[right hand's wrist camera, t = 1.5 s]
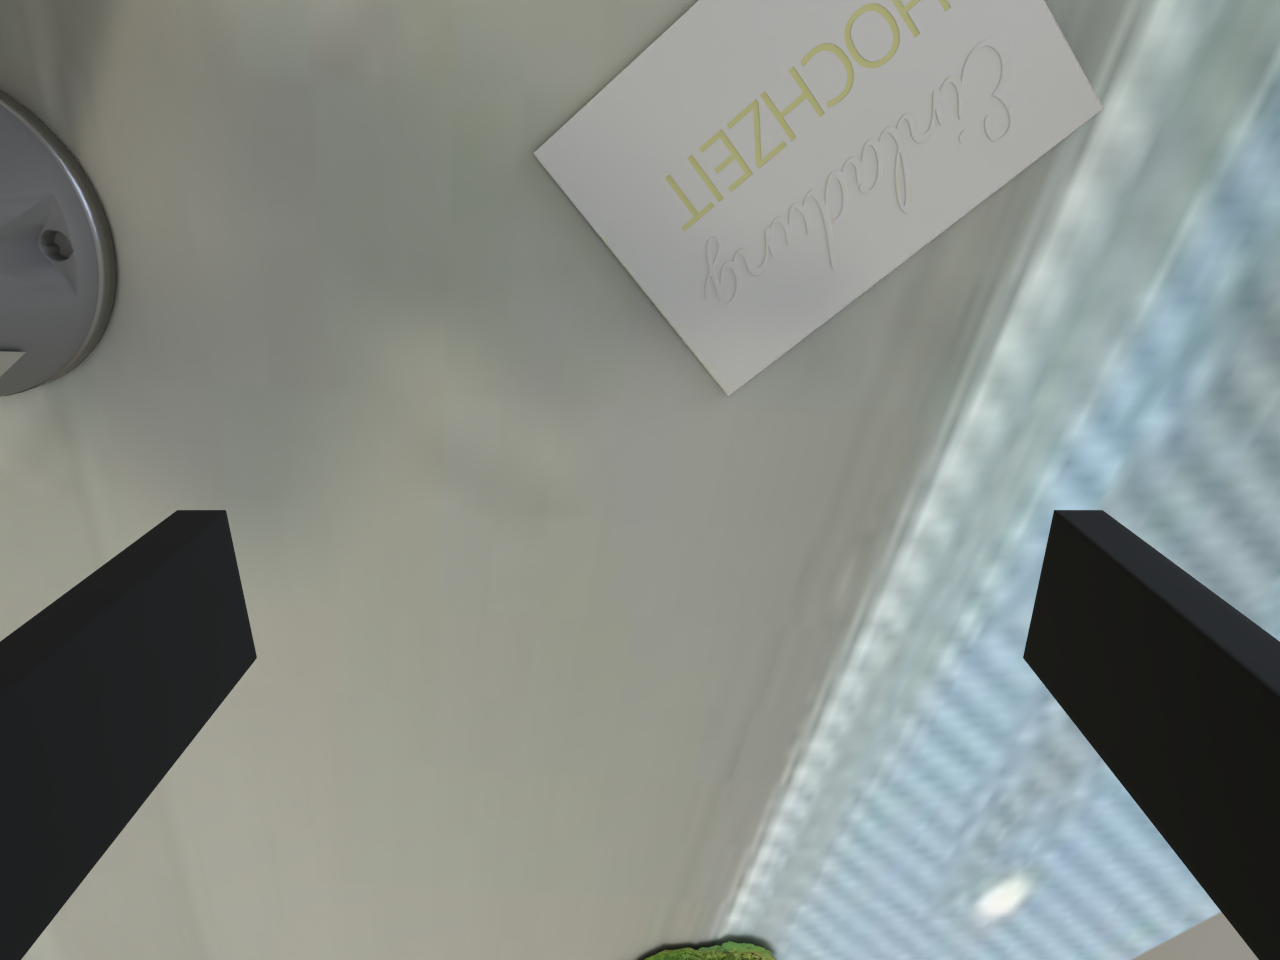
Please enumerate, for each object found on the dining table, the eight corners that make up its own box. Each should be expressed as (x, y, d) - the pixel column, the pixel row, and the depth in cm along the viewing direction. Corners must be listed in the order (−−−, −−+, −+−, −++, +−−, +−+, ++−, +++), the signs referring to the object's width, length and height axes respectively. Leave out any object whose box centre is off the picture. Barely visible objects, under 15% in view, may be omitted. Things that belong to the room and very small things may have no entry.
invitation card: (928, -213, 32) (1104, 108, 36) (926, -210, 32) (1100, 108, 36) (533, 153, 37) (728, 396, 41) (533, 153, 37) (728, 395, 41)
